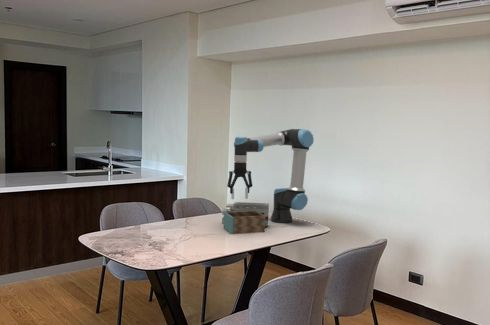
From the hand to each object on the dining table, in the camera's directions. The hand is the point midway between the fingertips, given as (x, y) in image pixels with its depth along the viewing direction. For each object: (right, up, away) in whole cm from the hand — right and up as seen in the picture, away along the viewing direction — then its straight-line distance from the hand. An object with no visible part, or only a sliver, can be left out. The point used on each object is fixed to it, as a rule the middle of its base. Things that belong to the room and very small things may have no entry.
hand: (239, 198), depth 273 cm
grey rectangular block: (+3, -20, +21) cm, 29 cm away
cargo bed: (+3, -21, +3) cm, 22 cm away
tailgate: (-6, -20, 0) cm, 21 cm away
